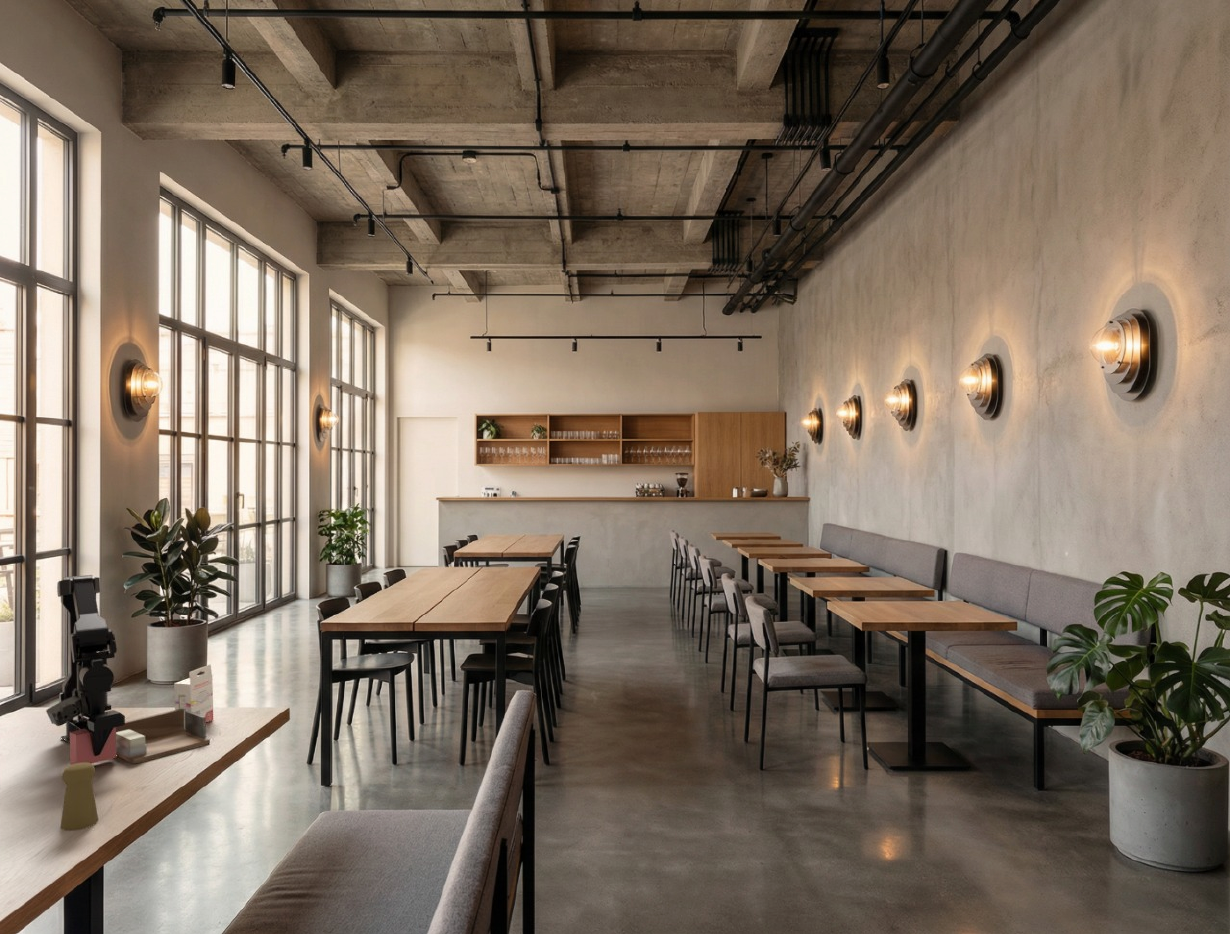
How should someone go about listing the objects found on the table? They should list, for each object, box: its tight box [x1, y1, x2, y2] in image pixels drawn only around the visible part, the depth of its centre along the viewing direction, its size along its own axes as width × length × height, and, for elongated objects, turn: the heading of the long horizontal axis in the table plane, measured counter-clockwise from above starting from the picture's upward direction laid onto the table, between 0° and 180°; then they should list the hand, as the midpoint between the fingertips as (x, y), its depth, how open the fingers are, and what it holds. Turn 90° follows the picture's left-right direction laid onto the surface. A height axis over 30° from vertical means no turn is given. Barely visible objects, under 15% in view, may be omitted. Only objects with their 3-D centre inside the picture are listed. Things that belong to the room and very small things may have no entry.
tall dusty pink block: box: [69, 727, 117, 765], centre depth 189 cm, size 4×8×7 cm, turn 142°
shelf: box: [116, 709, 211, 764], centre depth 201 cm, size 14×17×6 cm
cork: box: [60, 762, 99, 832], centre depth 159 cm, size 6×6×11 cm
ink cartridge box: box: [173, 664, 214, 729], centre depth 219 cm, size 9×5×15 cm, turn 168°
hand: (93, 753), depth 189 cm, fingers closed on tall dusty pink block, 3 cm apart
